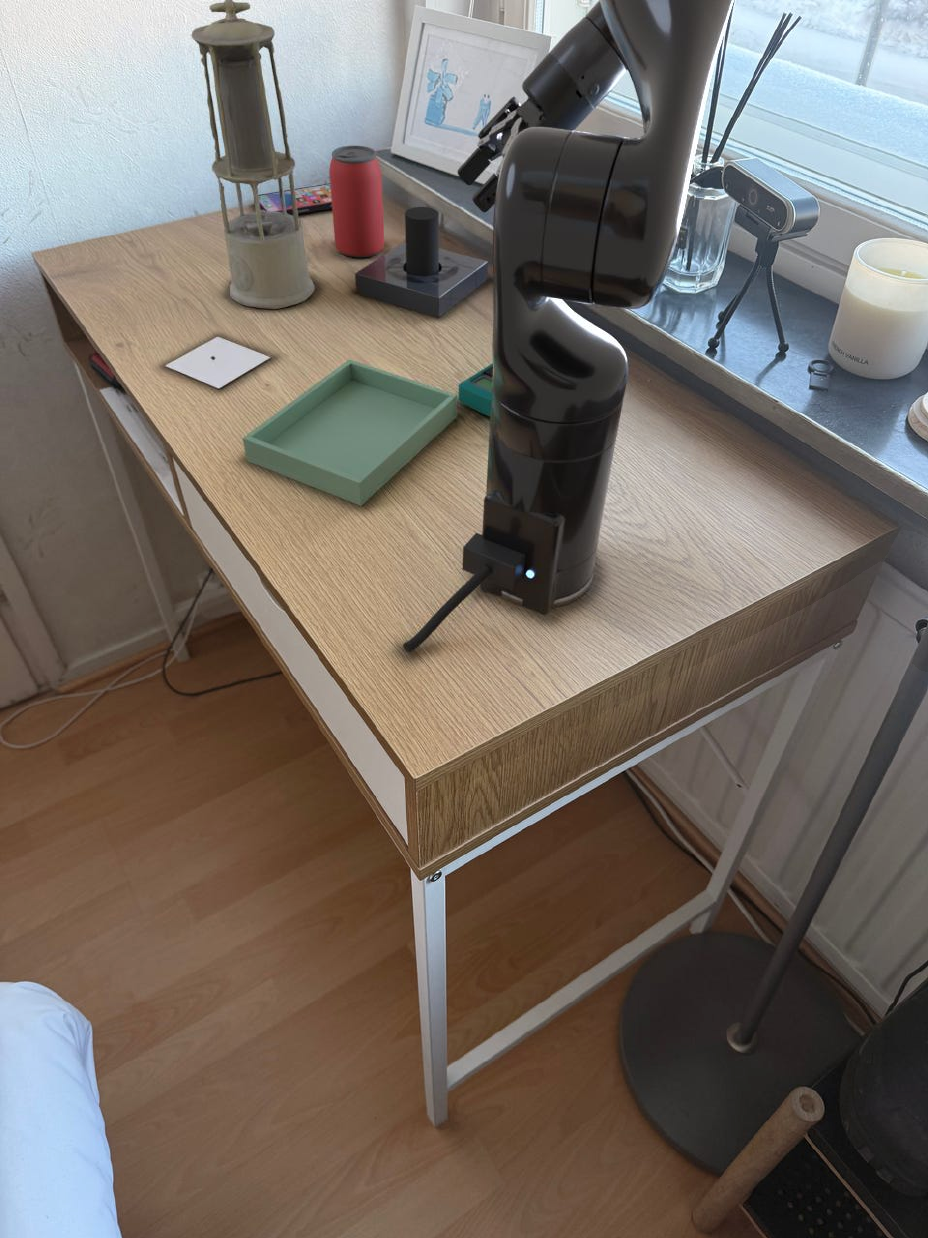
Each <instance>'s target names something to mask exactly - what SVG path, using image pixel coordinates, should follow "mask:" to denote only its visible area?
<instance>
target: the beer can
mask: <svg viewBox="0 0 928 1238" xmlns="http://www.w3.org/2000/svg"><path fill="white" fill-rule="evenodd" d="M377 155H378V154H377V152H376V150H374V149H373V148H371V147H369V146H365V145H343V146H340V147H337V148H335V149H334V150H333V151H332V152H331V156H332V157H331V161H330V164H329V169H328V171H329V172H328V173H329V183H330V186H331V199H332V208H331V211H332V223H333V234H334V245H335V249H336V250H337V251H338V252H339V253H340V254H343V255H344V256H347V257H350V258H369V257H373V256H375V255H377V254H378V253H380V252H382V250H383V248H384V247H385V229H384V228H385V227H384V204H383V181H382V180H383V178H382V170H381V166H380V165H381V164H380V162H379V160H378V157H377Z"/></svg>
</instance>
